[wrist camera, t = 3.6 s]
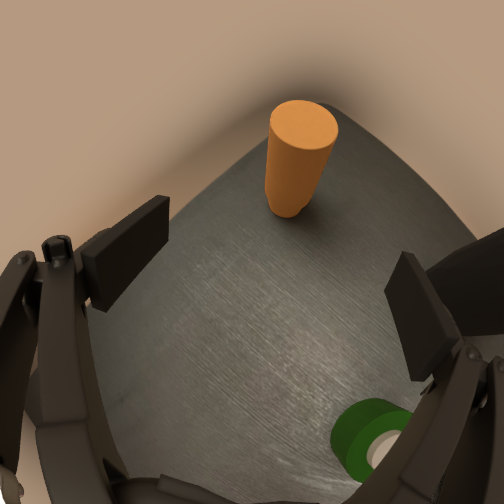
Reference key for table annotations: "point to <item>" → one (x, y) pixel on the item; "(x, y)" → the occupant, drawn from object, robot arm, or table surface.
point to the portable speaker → (473, 285)
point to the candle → (367, 435)
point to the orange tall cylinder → (297, 154)
